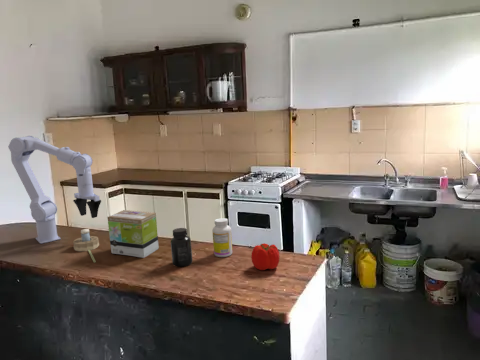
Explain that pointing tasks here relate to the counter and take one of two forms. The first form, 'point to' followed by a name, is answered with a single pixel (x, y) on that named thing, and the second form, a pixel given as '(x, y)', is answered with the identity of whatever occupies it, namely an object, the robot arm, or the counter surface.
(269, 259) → the red bell pepper
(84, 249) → the bead
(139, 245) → the tea box
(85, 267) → the counter surface
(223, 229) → the supplement bottle
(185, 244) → the supplement bottle
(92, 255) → the strip
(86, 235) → the white-tipped blue cylinder
